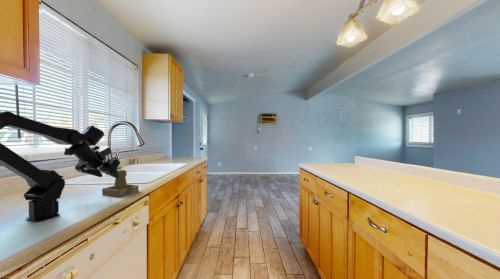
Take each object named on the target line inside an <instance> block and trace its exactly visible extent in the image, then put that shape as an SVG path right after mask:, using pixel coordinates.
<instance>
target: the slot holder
mask: <svg viewBox="0 0 500 279" xmlns="http://www.w3.org/2000/svg"><path fill="white" fill-rule="evenodd" d="M101 190H102V192H101V193H102V194H101V195H102V196H106V197H107V196H108V197H113V198H114V197H115V198H121V196H122V197H125V196H128V194H129V195H132V194H135V193H138V192H139V185H137V184H128V183H127V188H125V189H121V190H114V185H112V186H107V187H103V188H102V189H101ZM124 195H125V196H124Z"/></svg>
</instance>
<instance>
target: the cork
mask: <svg viewBox="0 0 500 279" xmlns="http://www.w3.org/2000/svg"><path fill="white" fill-rule="evenodd" d="M117 172H118V175H119V177H118V178H115V177H114V178H115V180H114V185H113V186H114V190H121V189H125V188H127V184H128V183H127V179H126V176H127V175H128V174H127V170H125V169H117Z"/></svg>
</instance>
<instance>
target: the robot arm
mask: <svg viewBox="0 0 500 279" xmlns="http://www.w3.org/2000/svg"><path fill="white" fill-rule="evenodd" d="M6 127H7V128H11V129H15V130H18V131H22V132H26V133H29V134H32V135H37V136H41V137H44V138H45V139H48V141H51V142H53V143H54V144H56V145H61V146H62V145H63V146H65V145H66V146H68V145H69V147H65V148H64V153H63V155H64V156H73V155H74V157H76V158H77V159H78V161H77V163H76V165H75V166H74V170H76V172H78V173H82V174H87V175H90V176H95V177H98V178H102V177H103V174H102V172H103V173H104V174H105V175H106V176H110V177H112V178H118V177H119V175H118V172H117V170H118V167H119V166H120V164H121V161H120V160H119V159H118V158H109V159H107V161H105V160H106V158H107V156H108V155H111V154H112V153H113V152H112V150H111V147H110V146H108V145H102V146H98V145H97V144H98V143H99V141H101V140H102V139H103V137H104V136H105V133H104V131H103V130H102V129H100V128H98V127H95V125H92V124H91V125H88V126H87V127H86V128H85V129H84V131H82V132H80V131H79V130H77V129H73V128H66V127H59V126H53V125H49V124H47V123H43V122H40V121H38V120H34V119H31V118H28V117H25V116H21V115H18V114H15V113H14V112H11V111H8V110H7V111H5V110H4V111H0V130H1V129H3V128H6ZM0 165H1V166H3V167H4V168H6V169H8V170H9V171H11V172H13V173H14V174H16V175H17V176H19V177H20V178H22V179H24V180H25V181H26V183H27V185H28V187H30V188H29V189H28V190H27V191H25V193H24V194H23V198H24V199H25V201H28V217H26V218H25V219H26V220H28V221H31V222H35V223H38V222H42V221H45V220H49V219H51V218H52V219H53V218H56V217H59V216H61V214H60V213H59V212H60V211H59V210H60V209H59V208H60V207H59V205H60V204H59V200H60V198H61V196H62V193H63V191H64V188H65V186H66V180H65V179H64V176H63V175H60V174H59V173H58V171H56V170H54V169H43V168H42V169H40V168H38V167H37V166H36V165H34V164H33V163H31V162H30V161H28V160H27V159H25V158H23V157H22V156H21V155H19V154H18V153H16V152H15V151H13V150H12V149H10V148H9V147H7V146H6V145H4V144H3V143H1V142H0ZM98 168H101V171H102V172H101V171H100V170H99V169H98Z"/></svg>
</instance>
